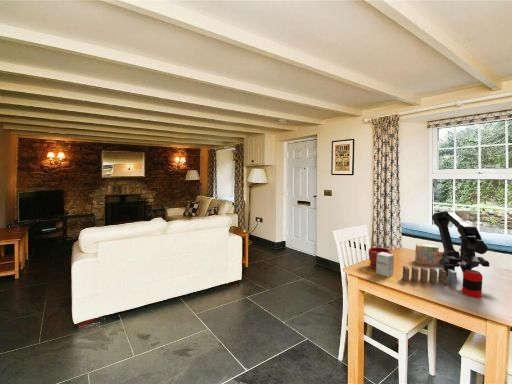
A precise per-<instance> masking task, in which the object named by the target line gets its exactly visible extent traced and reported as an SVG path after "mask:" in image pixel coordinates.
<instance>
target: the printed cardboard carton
mask: <svg viewBox="0 0 512 384" xmlns="http://www.w3.org/2000/svg"><path fill="white" fill-rule="evenodd" d="M443 251H444V249H440V248H439V247H438V246H437V245H435V244H434V245H433V244H425V243H424V244H423V243H422V244H421V243H416V244H415V257H414V258H415V262H416V264H421V265H422V264H424V265H432V266H442V265H440V264H439V260H440V259H441V258H442V254H443ZM442 267H443V266H442Z"/></svg>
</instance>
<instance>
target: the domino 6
mask: <svg viewBox="0 0 512 384" xmlns="http://www.w3.org/2000/svg"><path fill="white" fill-rule="evenodd" d="M456 277H458V276H457V272H456V270H455V271H453V270H450V269H448V277H447V279H446V283H448V284H449V286H451V287H457V278H456Z"/></svg>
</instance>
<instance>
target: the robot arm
mask: <svg viewBox="0 0 512 384" xmlns="http://www.w3.org/2000/svg"><path fill="white" fill-rule="evenodd" d="M431 219H432V221H433V223H434V224H435V226H436V227H437V228H438V232H439V235H440V240H441V244H442V246H443V247H442V248H443V250H444V251H443V254H442V258H441V259H440V260H439V264H440V265H442V269H444V270H445V271H446V272H447V278H448V269H450V270H453V271H455V272H456V269H455V268H459V267H460V269H461V272H462V273H463V272H464V271H465V270H468V269H469V270H473V269H474V268H477V267H479V265H480V266H482V267H485V268H489V267H490V261H488V260H487V259H485V258H484V257H483V256H476V254H479V255H484V254H486V253H487V252H488V249H489V247H488V245H487V244H486V243H485V242H484V240H483V238H482V235H481V234H480V232H479V229H478V228H477V226H475V225H474V224H471V223H468V222H465V220H464V219H462V218H461V217H460V216H458V215H457V214H456V213H455V211H453V210H443V211H440V212H434V213H433V215H432V216H431ZM450 222H451V224H452V225H453V226H455V227H456V228H457V232H458V233H459V235H460V236H458V239H460V248H458V249H459V251H458V250H456V249H455V248H454V245H453V240H452V237H451V233H450V230H449V224H450ZM440 265H439V266H440ZM457 278H458V276H456V279H457Z"/></svg>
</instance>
